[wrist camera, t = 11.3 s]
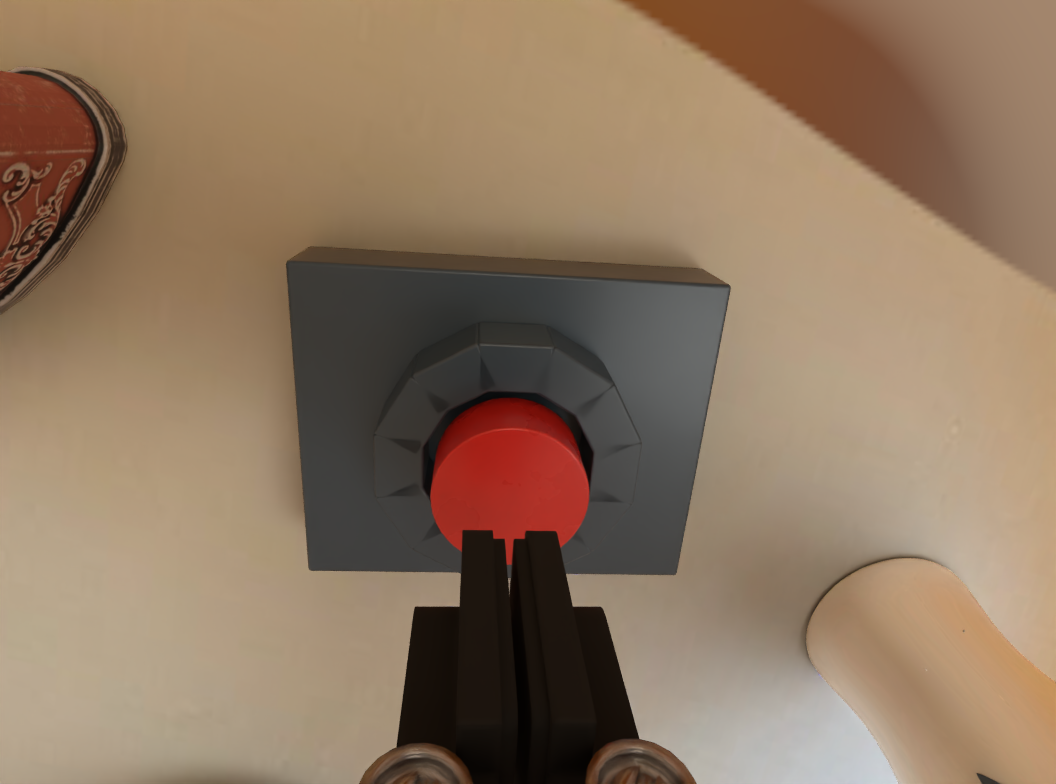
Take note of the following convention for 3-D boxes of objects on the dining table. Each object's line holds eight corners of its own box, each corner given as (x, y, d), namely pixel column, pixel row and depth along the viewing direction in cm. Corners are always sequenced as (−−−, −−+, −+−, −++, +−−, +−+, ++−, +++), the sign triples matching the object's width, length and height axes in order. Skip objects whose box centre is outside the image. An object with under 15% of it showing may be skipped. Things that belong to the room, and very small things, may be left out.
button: (585, 399, 15) (598, 430, 14) (571, 524, 17) (581, 566, 15) (436, 394, 15) (430, 424, 13) (434, 522, 16) (429, 565, 15)
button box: (704, 268, 18) (762, 302, 14) (658, 534, 21) (695, 618, 18) (307, 245, 17) (259, 276, 13) (325, 528, 20) (290, 615, 17)
